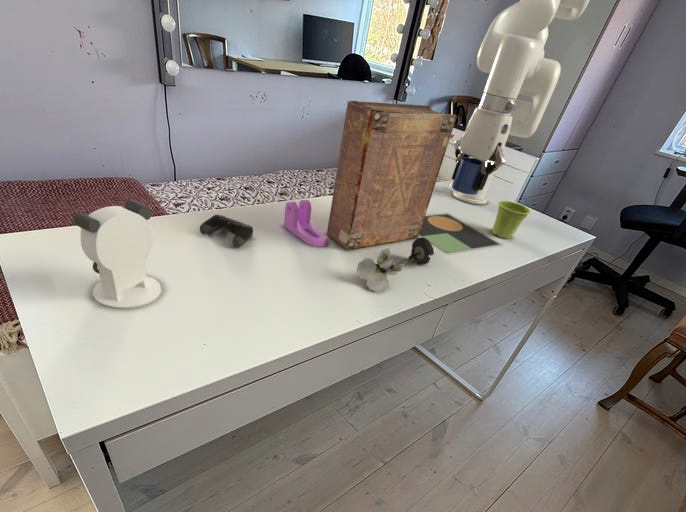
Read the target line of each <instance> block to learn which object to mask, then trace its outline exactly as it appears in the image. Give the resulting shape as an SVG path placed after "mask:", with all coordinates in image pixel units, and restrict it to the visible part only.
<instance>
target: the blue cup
mask: <svg viewBox="0 0 686 512" xmlns="http://www.w3.org/2000/svg"><path fill="white" fill-rule="evenodd" d="M479 173H481V161H480V160H478V159H475V158H471V157H463V158H461V161H460V164H459V166H458V169H457V172H456V175H455V178H454V180H453V181H452V183H451V188H452V190H453V191H454V190H456V191H458V192H461V193H464V194H470V195H475V194H477V193H478V191H479V190H473V186H474V184H475V181H476V178H477V176H478V174H479Z"/></svg>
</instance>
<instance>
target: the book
mask: <svg viewBox="0 0 686 512" xmlns="http://www.w3.org/2000/svg"><path fill="white" fill-rule="evenodd" d="M456 121H457V115H456V114H453V113H452V114H449V113H442V112H439V111H436V110H433V109H431V106H430V105H425V104H411V103H409V104H407V103H392V102H377V101H376V102H375V101H357V100H348V101H347V105H346V110H345V116H344V124H343V129H342V134H341V135H342V136H341V140H340V141H341V142H340V147H339V154H338V159H337V160H338V161H337V166H336V174H335V179H334V186H333V191H332V199H331V204H330V210H329V218H328V223H327V229H326V230H327V231H326V236H327V237H329V238H331V239H332V240H333V241H334V242H336V243H338V244H339V245H340V246H341V247H343V248H344V249H345V250H346V251H352V250H357V249H362V248H368V247H369V248H370V247H375V246H380V245H386V244H393V243H399V242H405V241H410V240H416V239H418V238H420V237H419V236H420V235H419V234H420V230H421V227H422V224H423V221H424V218H425V216H427V212H428V208H429V205H430V203H431V199H432V196H433V194H434V189H435V186H436V182H437V180H438V177H439V174H440V171H441V168H442V164H443V162H444V158H445V155H446V151H447V149H448V146H449V142H450V140H451V135H452V133H453V130H454V126H455V123H456Z"/></svg>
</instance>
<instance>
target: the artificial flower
mask: <svg viewBox="0 0 686 512" xmlns="http://www.w3.org/2000/svg"><path fill="white" fill-rule="evenodd" d="M390 250H391V249H390V248H389V247H386V248H384V249H382V250H381V251H380V253H379V254H378V256H377V258H376V262H375V260H373V259H372V258H369V257H365V258H363V259H362V260H361V261H359V262H358V263H357V266H356V273H357V276H358V277H359V279H361V280H366V287H367V289H368V291H369V292H371V291H372V292H374V293H380V292H382V291H383V290H384V289H386V288H388V287H389V286H390V280H389V278H388V276H394V275H396V274H398V273H400V272H402V270H403V269H404V267H405V265H404V262H411V261H414V262H417V263H419V264H420V265H426V264H427V265H428V264H429V263H430V262H431V257H430V256H434V255H435V251H434V250H435V249H434V247H433V244H432V243H431V242H429V241H428V240H427V239H425V238H423V237H418V238H416V239H414V241H413V242H412V244H411V249H410V251H411V252H410V255H408V257H407V258H405V259H402V260H401V261H400V262H397V263H395V264H394V262H395V259H394V258H391V259H389V257H390V253H391V252H390Z"/></svg>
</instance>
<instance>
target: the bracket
mask: <svg viewBox="0 0 686 512" xmlns="http://www.w3.org/2000/svg"><path fill="white" fill-rule="evenodd" d="M311 215H312V204H311V201H310V200H309V199H301V200H299V202H298V204H297V203H296V201H287V202H286V203H285V208H284V217H283V218H284V220H283V228H285V229H287V230H288V231H289V232H291V233H292V234H293V235H295V236H296V237H298V238H299V239H301V240H302V241H303V242H305V244H308V245H310V246H313V247H324V246H325V245H327V242H328V235H327V234H325V233H324V232H322V231H321V230H320V229H318V228H317V227H315V226H313V225H312V224H311Z"/></svg>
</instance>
